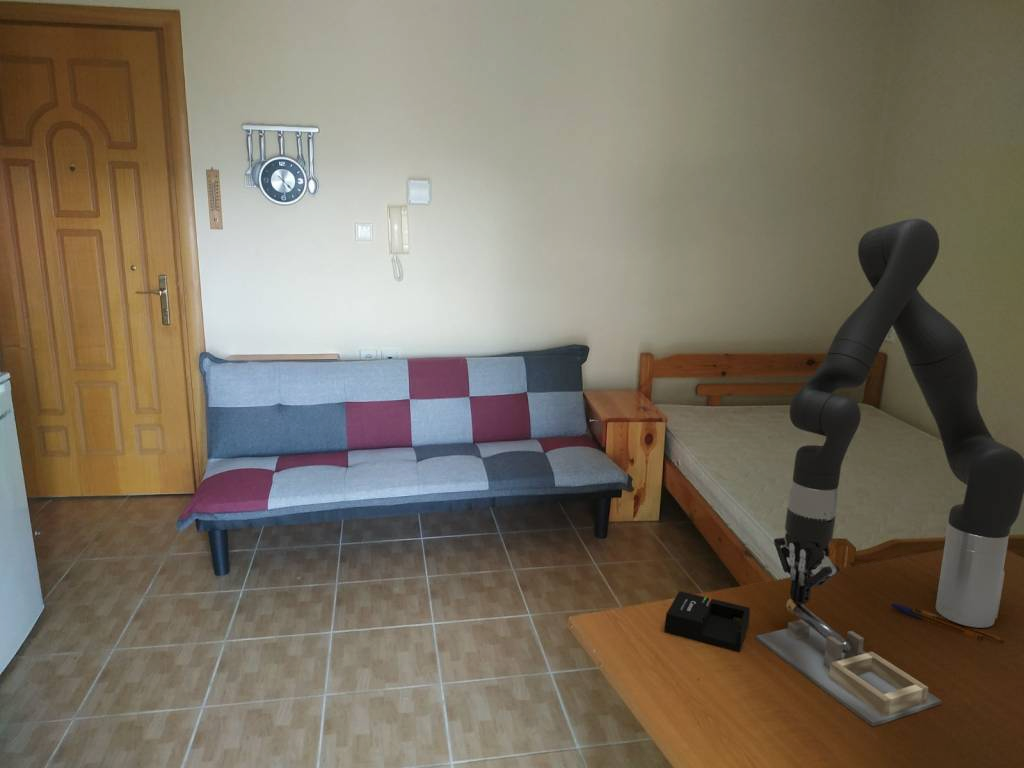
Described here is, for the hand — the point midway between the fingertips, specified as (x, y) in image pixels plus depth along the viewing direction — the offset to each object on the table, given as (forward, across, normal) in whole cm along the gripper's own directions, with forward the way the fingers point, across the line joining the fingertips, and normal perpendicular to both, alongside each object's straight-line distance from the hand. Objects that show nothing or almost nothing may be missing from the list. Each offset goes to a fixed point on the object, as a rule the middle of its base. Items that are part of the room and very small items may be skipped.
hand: (799, 601), depth 120 cm
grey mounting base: (+6, +17, 0) cm, 18 cm away
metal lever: (+3, +10, 0) cm, 10 cm away
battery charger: (+8, -8, -13) cm, 17 cm away
